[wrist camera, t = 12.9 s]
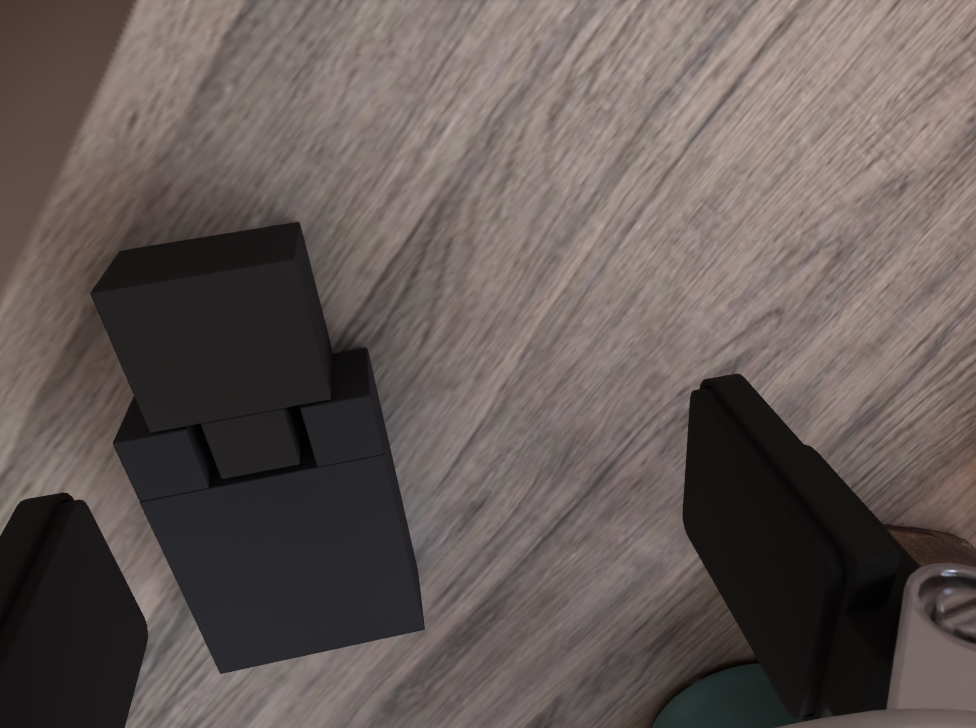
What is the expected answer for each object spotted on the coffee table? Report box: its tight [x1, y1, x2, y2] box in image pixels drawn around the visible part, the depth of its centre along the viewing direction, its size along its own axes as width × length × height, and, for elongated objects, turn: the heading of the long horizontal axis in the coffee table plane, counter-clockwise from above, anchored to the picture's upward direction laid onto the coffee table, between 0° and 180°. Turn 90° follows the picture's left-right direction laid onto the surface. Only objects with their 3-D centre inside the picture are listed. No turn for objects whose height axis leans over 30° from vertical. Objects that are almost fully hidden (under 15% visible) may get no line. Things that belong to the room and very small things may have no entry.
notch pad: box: [113, 348, 425, 674], centre depth 34 cm, size 14×10×4 cm
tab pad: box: [91, 222, 332, 479], centre depth 30 cm, size 9×7×4 cm
